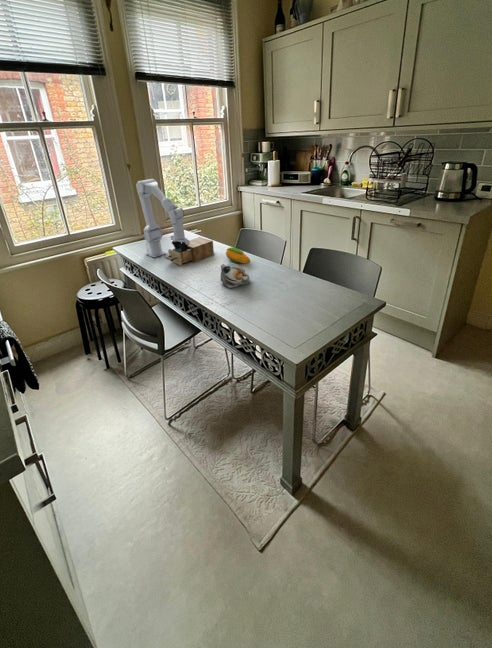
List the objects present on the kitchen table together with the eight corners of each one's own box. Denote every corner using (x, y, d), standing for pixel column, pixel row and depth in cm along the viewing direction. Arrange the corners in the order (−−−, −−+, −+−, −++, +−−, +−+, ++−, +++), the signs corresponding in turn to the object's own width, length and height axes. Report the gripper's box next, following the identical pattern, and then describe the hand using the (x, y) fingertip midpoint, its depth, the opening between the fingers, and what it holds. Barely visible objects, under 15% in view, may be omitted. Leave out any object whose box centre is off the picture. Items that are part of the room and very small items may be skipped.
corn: (232, 242, 180) (255, 251, 165) (233, 255, 184) (256, 264, 169) (221, 246, 176) (244, 256, 162) (223, 259, 180) (245, 269, 165)
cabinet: (194, 262, 177) (193, 247, 173) (182, 257, 184) (180, 243, 181) (214, 254, 186) (212, 240, 183) (201, 250, 194) (199, 237, 190)
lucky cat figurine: (254, 279, 152) (256, 261, 141) (242, 298, 146) (243, 280, 135) (227, 267, 157) (227, 248, 145) (214, 284, 150) (213, 266, 139)
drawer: (174, 267, 168) (172, 256, 166) (163, 263, 175) (161, 251, 172) (199, 258, 180) (198, 246, 177) (188, 254, 186) (187, 243, 184)
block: (176, 256, 177) (175, 249, 175) (182, 254, 179) (181, 247, 178) (181, 258, 174) (180, 250, 172) (187, 256, 177) (186, 248, 175)
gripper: (164, 230, 173) (168, 253, 178) (180, 234, 163) (183, 259, 169) (175, 227, 177) (178, 249, 183) (191, 231, 168) (194, 255, 173)
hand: (181, 254), depth 176 cm, fingers closed on block, 4 cm apart
